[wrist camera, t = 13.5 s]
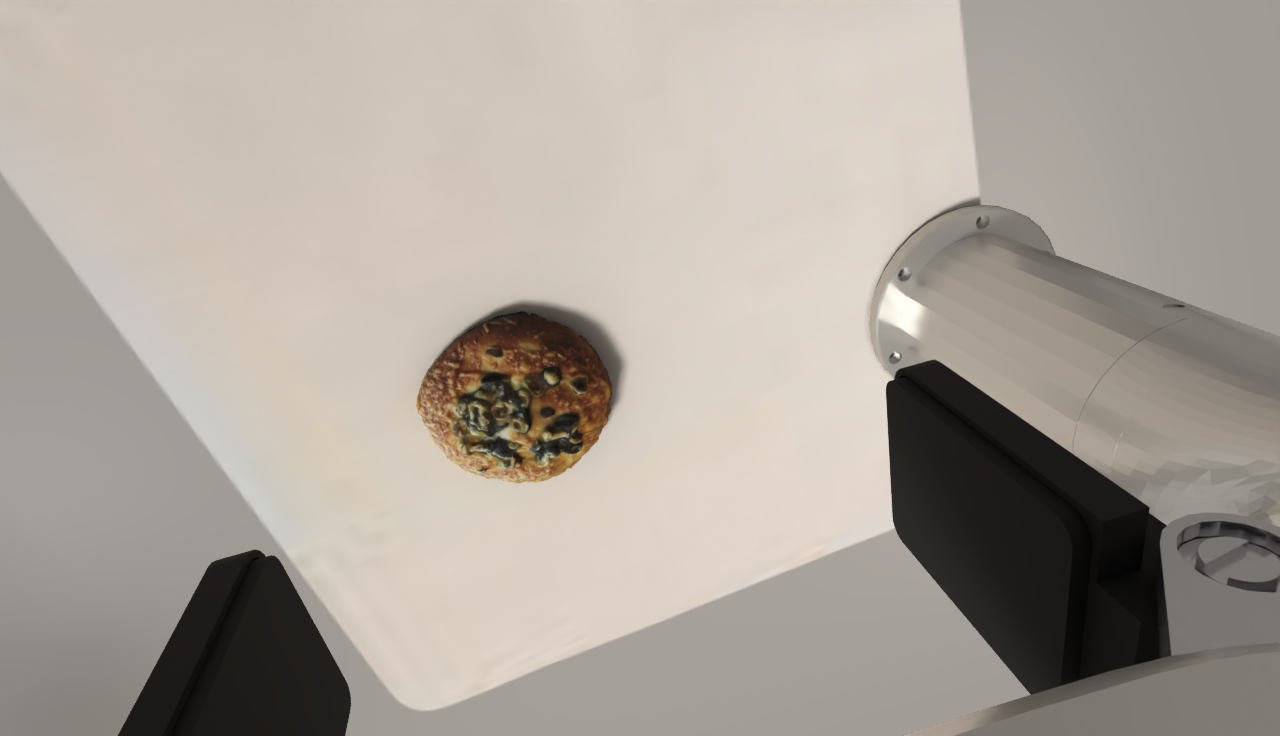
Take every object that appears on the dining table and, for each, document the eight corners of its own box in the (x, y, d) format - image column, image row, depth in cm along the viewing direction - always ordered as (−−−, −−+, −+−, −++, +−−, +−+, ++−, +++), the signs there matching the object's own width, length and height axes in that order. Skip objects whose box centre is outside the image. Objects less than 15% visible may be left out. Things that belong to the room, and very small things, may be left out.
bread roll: (592, 289, 41) (604, 332, 36) (620, 438, 47) (633, 489, 43) (396, 328, 40) (386, 377, 36) (451, 475, 46) (448, 531, 42)
